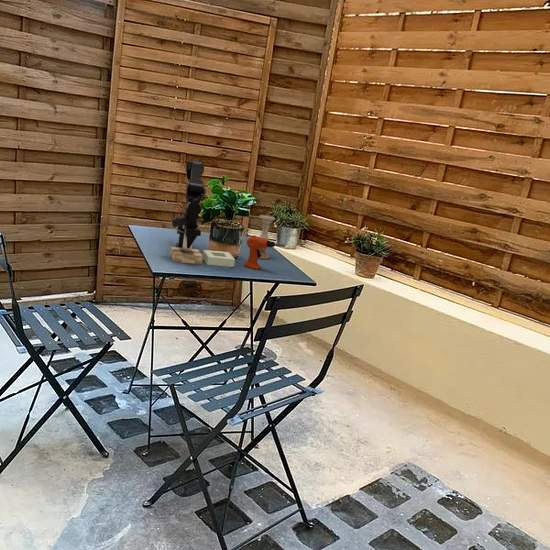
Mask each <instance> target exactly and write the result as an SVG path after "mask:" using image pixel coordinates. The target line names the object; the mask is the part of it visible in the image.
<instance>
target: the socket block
mask: <svg viewBox="0 0 550 550" xmlns="http://www.w3.org/2000/svg"><path fill="white" fill-rule="evenodd" d="M169 255H170V257H171V258H172V261H173V262H174V263H183V264H184V263H185V264H196V265H203V256H202V253H201V252H200V250H199V249H198V248H192V250H191V253H182V248H181V247H178V246H170V249H169Z"/></svg>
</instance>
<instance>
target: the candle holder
mask: <svg viewBox="0 0 550 550" xmlns="http://www.w3.org/2000/svg"><path fill="white" fill-rule="evenodd" d="M259 219H262V222H263V224H262V226H261V228H262V231H261V234H260V235H259V237H260V238H264V239H267V240H269V241H270V239H269V236H268V233H269V229H270V224H271V223H272V221H275V220H276V218H275V216H272V215H269V214H268V215H267V214H260V215H259ZM267 249H268V248H267V247H266V248H261V249H258V250H260V254H261V257H259V258H258V259H260V260H269V259H270V255H269V254H268V253H267V252H266V250H267Z"/></svg>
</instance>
